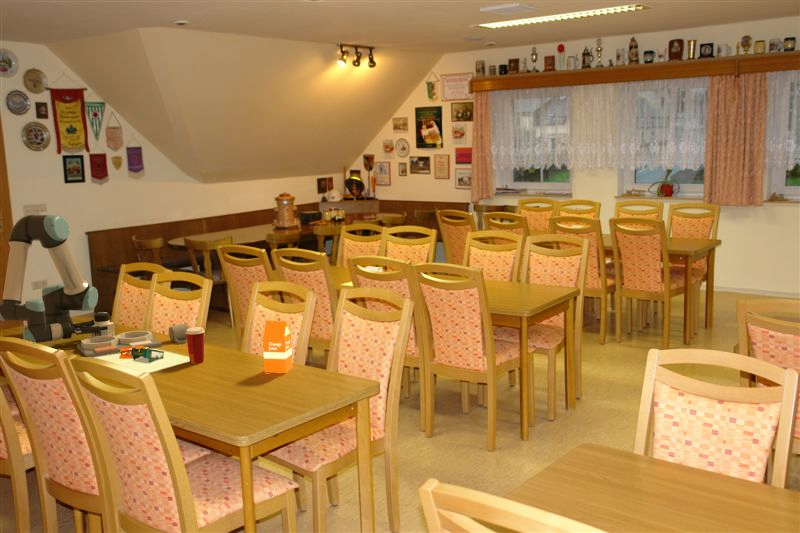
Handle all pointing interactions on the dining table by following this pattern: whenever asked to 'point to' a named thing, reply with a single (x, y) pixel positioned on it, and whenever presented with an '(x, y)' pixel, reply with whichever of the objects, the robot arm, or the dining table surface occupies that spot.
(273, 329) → the orange juice
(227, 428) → the dining table surface
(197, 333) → the paper cup
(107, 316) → the container
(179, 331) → the ceramic mug
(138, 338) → the ring board
